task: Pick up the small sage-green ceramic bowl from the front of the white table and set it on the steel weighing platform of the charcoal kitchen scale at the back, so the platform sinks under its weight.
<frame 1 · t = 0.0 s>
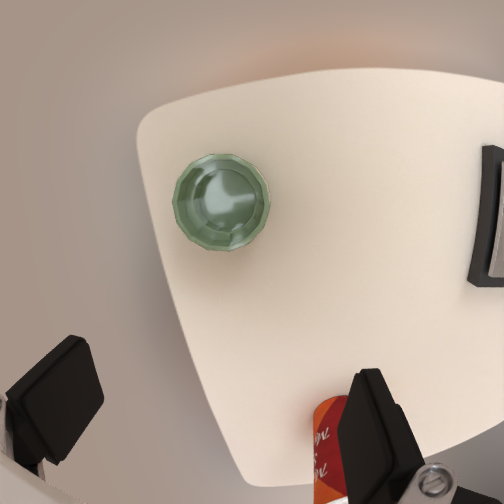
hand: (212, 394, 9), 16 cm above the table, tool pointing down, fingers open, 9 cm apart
bowl: (229, 198, 23), on the table
coffee cup: (338, 412, 29), on the table
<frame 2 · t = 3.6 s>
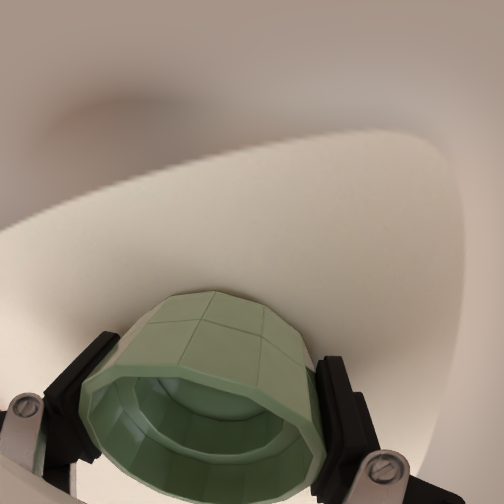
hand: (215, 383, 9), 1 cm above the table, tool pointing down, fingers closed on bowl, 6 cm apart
bowl: (219, 371, 10), on the table, touching gripper
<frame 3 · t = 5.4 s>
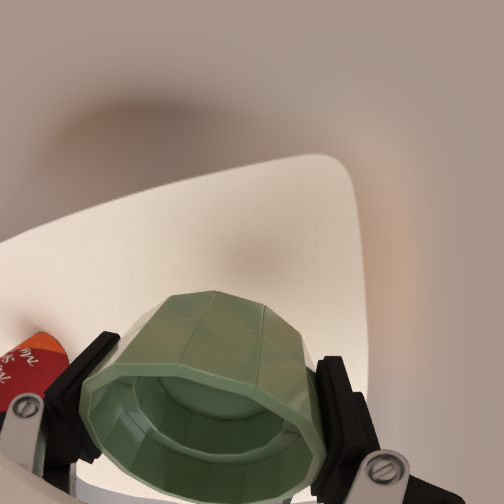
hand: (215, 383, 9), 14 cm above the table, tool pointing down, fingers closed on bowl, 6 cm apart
bowl: (219, 370, 10), point 13 cm above the table, touching gripper
coffee cup: (51, 352, 27), on the table
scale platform: (242, 493, 27), point 3 cm above the table, slide at 0.0 cm
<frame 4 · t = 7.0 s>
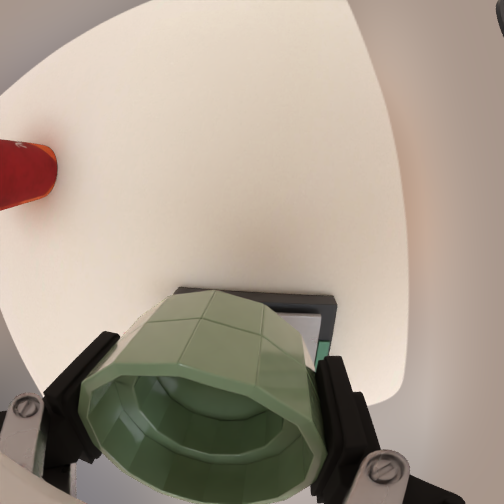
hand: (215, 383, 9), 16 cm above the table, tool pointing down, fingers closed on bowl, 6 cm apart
scale base: (253, 348, 27), on the table
bowl: (219, 370, 10), point 15 cm above the table, touching gripper
coffee cup: (41, 172, 24), on the table
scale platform: (250, 366, 24), point 3 cm above the table, slide at 0.0 cm
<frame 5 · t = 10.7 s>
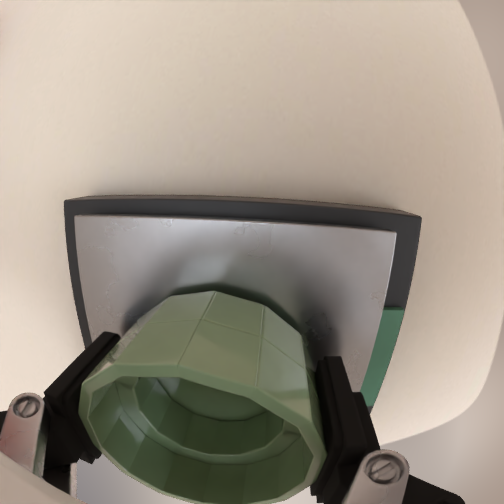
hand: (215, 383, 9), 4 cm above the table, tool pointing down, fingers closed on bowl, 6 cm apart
scale base: (231, 330, 13), on the table
bowl: (219, 371, 10), point 3 cm above the table, touching gripper, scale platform
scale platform: (220, 366, 10), point 3 cm above the table, slide at -0.2 cm, touching bowl
when the fingers open (4 cm above the table, at t = 10.9 s): bowl stays where it is, resting on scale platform.
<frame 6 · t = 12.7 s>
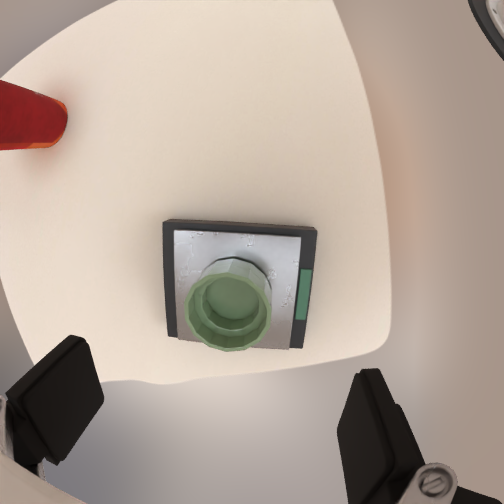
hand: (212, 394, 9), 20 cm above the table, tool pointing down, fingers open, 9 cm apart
scale base: (237, 282, 29), on the table
bowl: (233, 294, 26), point 3 cm above the table, touching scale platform
coffee cup: (51, 124, 26), on the table
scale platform: (234, 292, 26), point 3 cm above the table, slide at -0.2 cm, touching bowl
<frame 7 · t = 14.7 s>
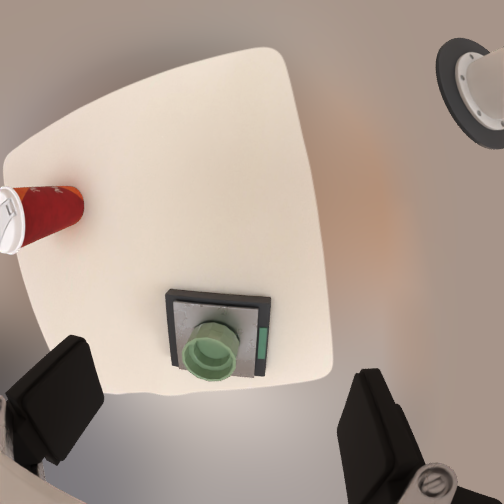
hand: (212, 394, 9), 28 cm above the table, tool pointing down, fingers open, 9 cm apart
scale base: (218, 331, 40), on the table
bowl: (214, 342, 37), point 3 cm above the table, touching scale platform
coffee cup: (70, 205, 37), on the table
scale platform: (215, 341, 37), point 3 cm above the table, slide at -0.2 cm, touching bowl
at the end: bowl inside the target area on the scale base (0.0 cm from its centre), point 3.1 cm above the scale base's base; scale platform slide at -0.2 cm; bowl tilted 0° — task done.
